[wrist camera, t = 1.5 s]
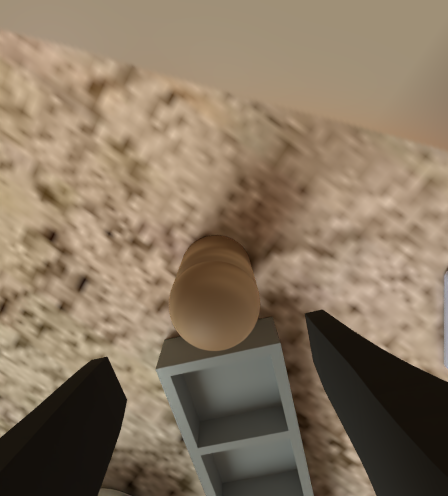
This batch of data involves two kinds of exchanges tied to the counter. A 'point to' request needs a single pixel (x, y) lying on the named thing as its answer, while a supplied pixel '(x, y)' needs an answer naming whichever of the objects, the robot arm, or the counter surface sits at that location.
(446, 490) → the robot arm
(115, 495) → the ramekin
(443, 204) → the counter surface
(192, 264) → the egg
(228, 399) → the tray
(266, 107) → the counter surface
